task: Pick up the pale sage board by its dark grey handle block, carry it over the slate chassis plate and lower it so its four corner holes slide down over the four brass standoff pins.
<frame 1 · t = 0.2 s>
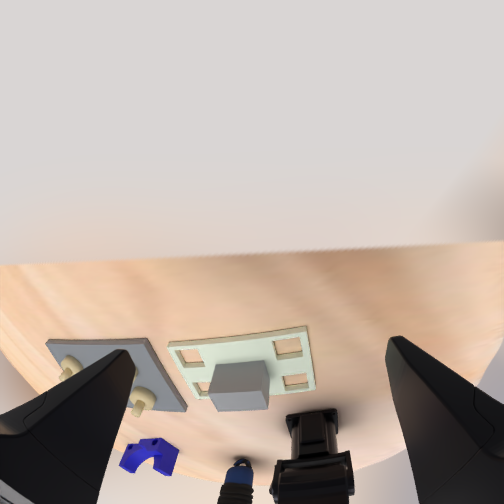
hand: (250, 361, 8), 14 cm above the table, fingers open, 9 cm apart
blue u-shaped cradle: (149, 443, 39), on the table
board: (244, 367, 27), on the table
flashlight: (240, 458, 37), on the table
chassis: (110, 374, 31), on the table
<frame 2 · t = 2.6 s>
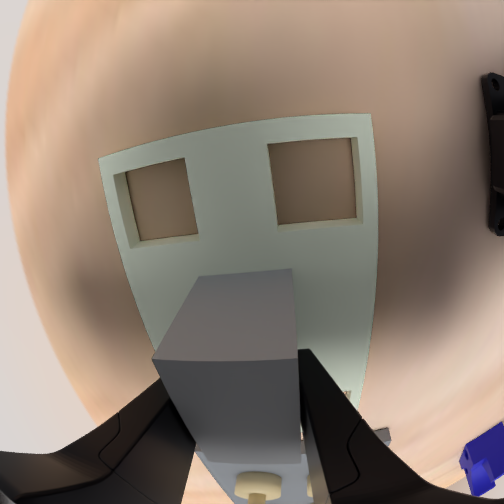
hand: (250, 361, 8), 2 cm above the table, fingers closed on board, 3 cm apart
blue u-shaped cradle: (474, 449, 16), on the table
board: (256, 322, 10), on the table, touching gripper
chassis: (295, 486, 17), on the table
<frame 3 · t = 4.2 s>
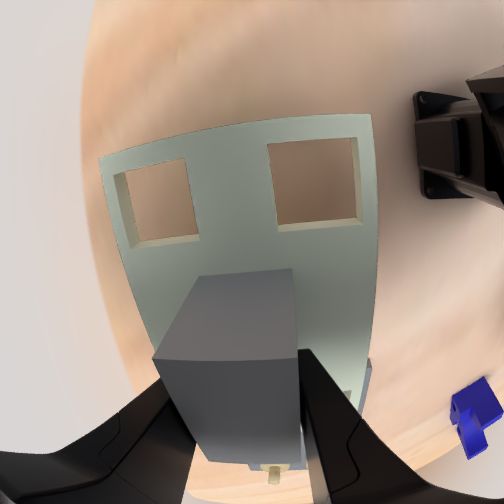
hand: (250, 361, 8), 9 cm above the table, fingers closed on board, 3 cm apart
blue u-shaped cradle: (463, 407, 22), on the table
board: (256, 322, 10), point 7 cm above the table, touching gripper
chassis: (297, 429, 23), on the table
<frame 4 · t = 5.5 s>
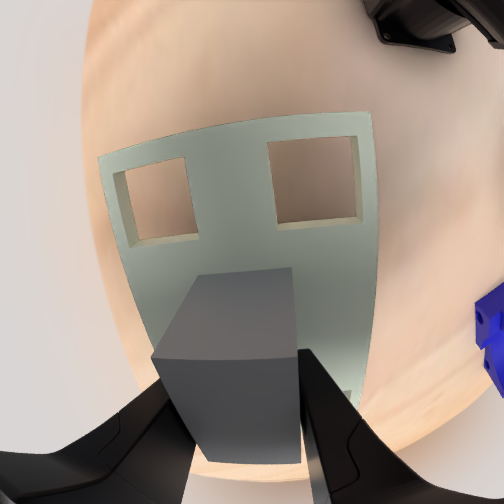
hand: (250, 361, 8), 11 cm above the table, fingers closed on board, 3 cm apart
blue u-shaped cradle: (489, 330, 20), on the table
board: (256, 321, 10), point 9 cm above the table, touching gripper
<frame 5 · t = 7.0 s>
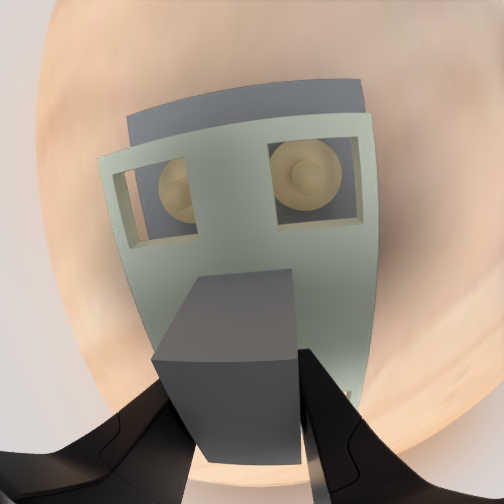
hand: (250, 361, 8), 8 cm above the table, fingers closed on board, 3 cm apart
board: (256, 322, 10), point 6 cm above the table, touching gripper
chassis: (264, 264, 16), on the table
when the fingers open (5 cm above the table, at t = 8.2 s): board stays where it is, resting on chassis.
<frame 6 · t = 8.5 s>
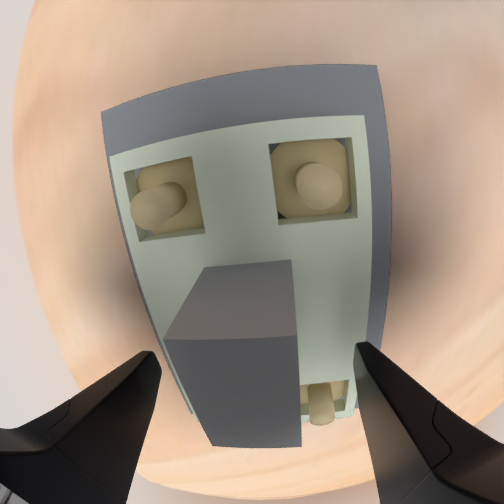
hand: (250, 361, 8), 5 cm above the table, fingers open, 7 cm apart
board: (258, 312, 11), point 2 cm above the table, touching chassis
chassis: (261, 284, 13), on the table
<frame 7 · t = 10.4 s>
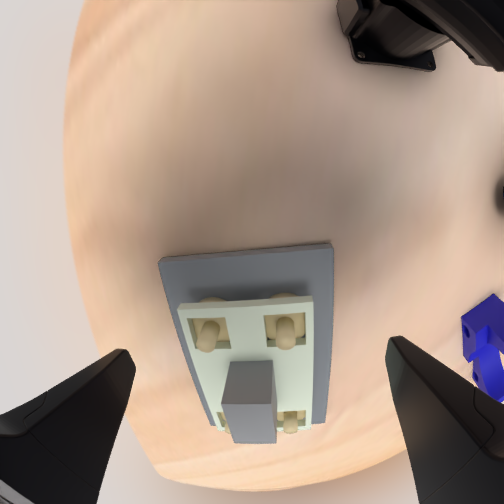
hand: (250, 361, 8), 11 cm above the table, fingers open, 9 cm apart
blue u-shaped cradle: (477, 342, 21), on the table
board: (256, 377, 20), point 2 cm above the table, touching chassis
chassis: (258, 356, 22), on the table
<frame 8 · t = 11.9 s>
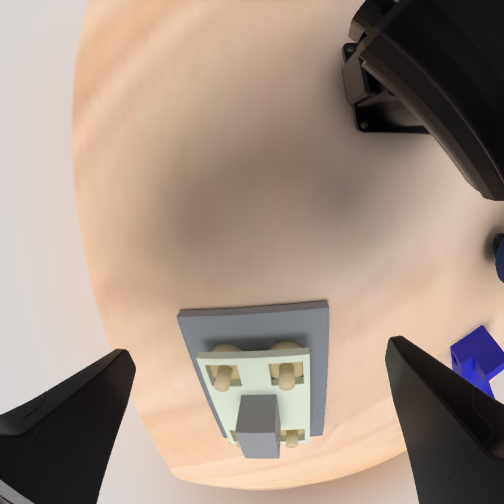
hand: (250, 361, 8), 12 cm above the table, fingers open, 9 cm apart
blue u-shaped cradle: (466, 364, 23), on the table
board: (262, 404, 23), point 2 cm above the table, touching chassis
flashlight: (493, 249, 18), on the table
chassis: (264, 385, 25), on the table
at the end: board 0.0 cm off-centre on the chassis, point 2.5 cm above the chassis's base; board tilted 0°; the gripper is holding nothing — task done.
